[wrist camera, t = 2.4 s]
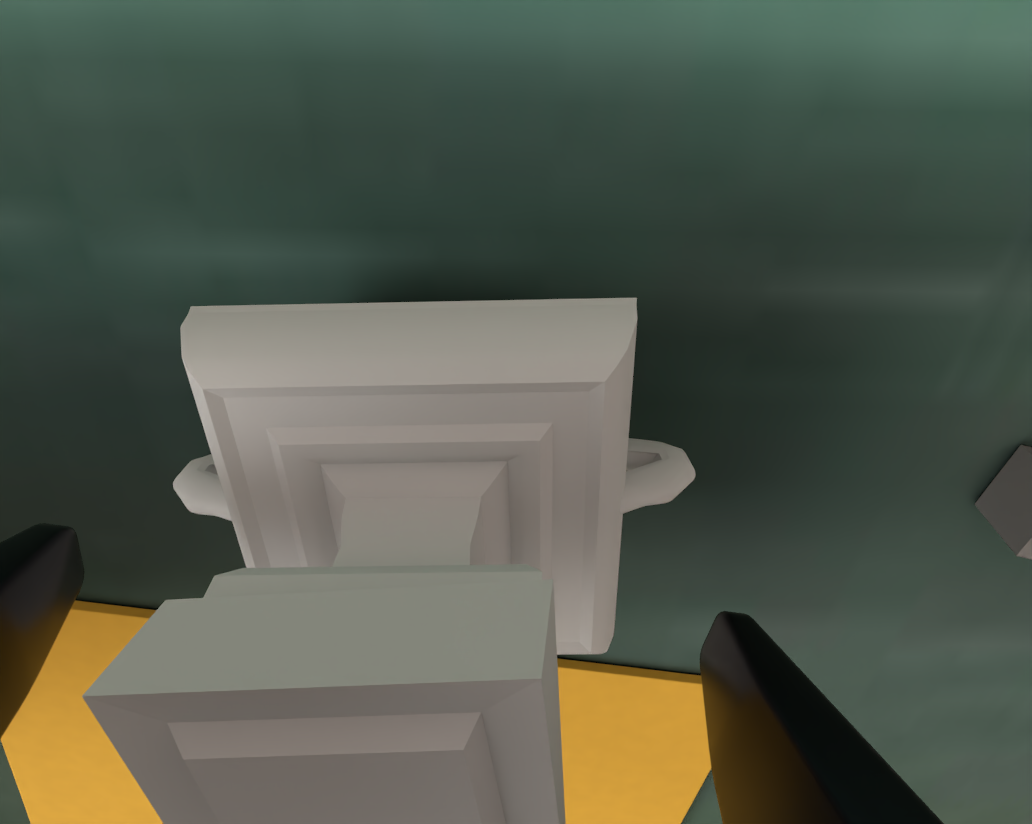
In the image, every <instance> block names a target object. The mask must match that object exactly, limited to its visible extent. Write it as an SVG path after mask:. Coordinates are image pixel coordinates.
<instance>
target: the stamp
mask: <svg viewBox="0 0 1032 824" xmlns="http://www.w3.org/2000/svg"><path fill="white" fill-rule="evenodd" d="M636 304H637V298H593V299H542V300H490V301H439V302H388V303H336V304H285V305H233V306H191V307H190V310H189V313H188V315H187V316H186V318H185V320H184V322H183V323H182V325H181V327H180V332H181V354H182V360H183V363H184V366H185V369H186V373H187V376H188V379H189V382H190V386H191V389H192V392H193V395H194V399H195V402H196V405H197V408H198V412H199V415H200V418H201V421H202V425H203V428H204V431H205V434H206V438H207V441H208V444H209V447H210V451H211V454H210V455H207V456H204V457H201V458H197V459H194V460H192V461H190V462H189V463H188V465H187V466H186V467H185V468H184V469H183V470H182V471H181V473H180V474H179V475H178V476H177V477H176V478H175V480H174V482H173V488H174V490H175V491H176V493H177V494H178V496H179V497H180V499H181V500H182V502H183V503H184V505H185V506H186V508H187V509H188V510H189V511H190V512H193V513H197V514H203V515H213V516H218V517H221V518H224V519H227V520H230V521H232V522H233V526H234V529H235V532H236V535H237V539H238V542H239V545H240V548H241V552H242V555H243V558H244V561H245V565H246V568H241V569H237V570H233V571H230V572H226V573H222V574H219V575H215V576H214V577H213V579H212V581H211V583H210V585H209V587H208V589H207V591H206V593H205V595H204V597H203V598H192V599H174V600H165V601H164V602H163V603H162V605H161V606H160V607H159V608H158V609H157V610H156V612H155V613H154V614H153V615H152V616H151V617H150V618H149V620H148V621H147V622H146V623H145V624H144V625H143V626H142V628H141V629H140V630H139V631H138V632H137V633H136V635H135V636H134V637H133V638H132V639H131V640H130V641H129V643H128V644H127V645H126V646H125V647H124V648H123V649H122V651H121V652H120V653H119V654H118V655H117V656H116V658H115V659H114V660H113V661H112V662H111V663H110V664H109V666H108V667H107V668H106V669H105V670H104V671H103V672H102V674H101V675H100V676H99V677H98V678H97V679H96V681H95V682H94V683H93V684H92V685H91V686H90V687H89V689H88V690H87V691H86V692H85V693H84V694H83V695H82V697H83V699H84V701H85V702H86V704H87V705H88V707H89V708H90V710H91V711H92V713H93V715H94V716H95V718H96V719H97V721H98V722H99V724H100V725H101V727H102V729H103V730H104V732H105V733H106V735H107V736H108V738H109V739H110V741H111V743H112V744H113V746H114V747H115V749H116V750H117V752H118V753H119V755H120V757H121V758H122V760H123V761H124V763H125V764H126V766H127V768H128V769H129V771H130V772H131V774H132V775H133V777H134V778H135V780H136V782H137V783H138V785H139V786H140V788H141V789H142V791H143V792H144V794H145V796H146V797H147V799H148V800H149V802H150V803H151V805H152V806H153V808H154V810H155V811H156V813H157V814H158V816H159V817H160V819H161V820H162V822H163V824H566V822H565V803H564V783H563V763H562V744H561V724H560V705H559V685H558V665H557V655H559V654H602V653H604V652H607V650H608V648H609V645H610V643H611V640H612V638H613V635H614V626H615V612H616V599H617V586H618V572H619V559H620V545H621V532H622V519H623V513H626V512H629V511H632V510H635V509H637V508H640V507H643V506H648V505H656V504H663V503H667V502H670V501H672V500H673V499H674V498H675V497H676V496H677V495H678V494H679V493H680V492H681V491H683V490H684V489H685V488H686V487H687V486H688V485H689V484H690V483H691V482H692V481H693V480H694V478H695V476H696V474H695V470H694V468H693V466H692V464H691V462H690V460H689V459H688V457H687V455H686V453H685V452H684V450H683V449H680V448H677V447H674V446H672V445H669V444H666V443H663V442H658V441H651V440H643V439H633V438H629V425H630V412H631V398H632V385H633V372H634V358H635V345H636V332H637V306H636ZM626 470H627V471H626Z"/></svg>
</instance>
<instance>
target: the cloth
mask: <svg viewBox="0 0 1032 824" xmlns="http://www.w3.org/2000/svg"><path fill="white" fill-rule="evenodd" d="M155 612H156V610H151V609H143V608H134V607H126V606H118V605H109V604H101V603H93V602H84V601H76V600H75V602H74V604H73V606H72V608H71V610H70V612H69V614H68V616H67V618H66V620H65V622H64V624H63V626H62V628H61V630H60V632H59V634H58V636H57V638H56V640H55V642H54V644H53V646H52V648H51V650H50V652H49V654H48V657H47V659H46V661H45V663H44V665H43V667H42V669H41V671H40V673H39V675H38V677H37V679H36V681H35V683H34V684H33V686H32V688H31V690H30V692H29V694H28V695H27V697H26V699H25V700H24V702H23V704H22V705H21V707H20V709H19V711H18V712H17V714H16V715H15V717H14V718H13V720H12V722H11V723H10V725H9V726H8V728H7V730H6V731H5V733H4V734H3V736H2V738H1V742H2V744H3V747H4V750H5V753H6V755H7V758H8V761H9V764H10V767H11V769H12V772H13V775H14V778H15V781H16V783H17V786H18V789H19V792H20V795H21V797H22V800H23V803H24V806H25V808H26V811H27V814H28V817H29V820H30V822H31V824H163V822H162V820H161V819H160V817H159V816H158V814H157V813H156V811H155V810H154V808H153V806H152V805H151V803H150V802H149V800H148V799H147V797H146V796H145V794H144V792H143V791H142V789H141V788H140V786H139V785H138V783H137V782H136V780H135V778H134V777H133V775H132V774H131V772H130V771H129V769H128V768H127V766H126V764H125V763H124V761H123V760H122V758H121V757H120V755H119V753H118V752H117V750H116V749H115V747H114V746H113V744H112V743H111V741H110V739H109V738H108V736H107V735H106V733H105V732H104V730H103V729H102V727H101V725H100V724H99V722H98V721H97V719H96V718H95V716H94V715H93V713H92V711H91V710H90V708H89V707H88V705H87V704H86V702H85V701H84V699H83V697H82V695H83V694H84V693H85V692H86V691H87V690H88V689H89V687H90V686H91V685H92V684H93V683H94V682H95V681H96V679H97V678H98V677H99V676H100V675H101V674H102V672H103V671H104V670H105V669H106V668H107V667H108V666H109V664H110V663H111V662H112V661H113V660H114V659H115V658H116V656H117V655H118V654H119V653H120V652H121V651H122V649H123V648H124V647H125V646H126V645H127V644H128V643H129V641H130V640H131V639H132V638H133V637H134V636H135V635H136V633H137V632H138V631H139V630H140V629H141V628H142V626H143V625H144V624H145V623H146V622H147V621H148V620H149V618H150V617H151V616H152V615H153V614H154V613H155ZM557 665H558V685H559V705H560V724H561V744H562V763H563V783H564V803H565V822H566V824H681V822H682V820H683V819H684V817H685V815H686V813H687V811H688V810H689V808H690V806H691V804H692V802H693V800H694V799H695V797H696V795H697V793H698V791H699V790H700V788H701V786H702V784H703V782H704V780H705V779H706V777H707V775H708V773H709V771H710V770H711V761H710V754H709V745H708V736H707V726H706V717H705V708H704V698H703V689H702V679H701V676H700V675H692V674H684V673H675V672H667V671H659V670H650V669H642V668H634V667H625V666H617V665H609V664H600V663H592V662H584V661H575V660H567V659H559V658H557Z"/></svg>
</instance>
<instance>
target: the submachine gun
mask: <svg viewBox="0 0 1032 824" xmlns="http://www.w3.org/2000/svg"><path fill="white" fill-rule="evenodd" d="M974 505H975V506H976V507H977V508H978V510H979V511H980V512H981V513H982V514H983V516H984V517H985V518H986V519H987V520H988V522H989V523H990V524H991V525H992V527H993V528H994V529H995V530H996V531H997V533H998V534H999V535H1000V536H1001V537H1002V539H1003V540H1004V541H1005V542H1006V543H1007V545H1008V546H1009V547H1010V548H1011V550H1012V551H1013V552H1014V553H1015V554H1016V556H1020V557H1024V558H1028V559H1032V447H1028V446H1024V445H1020V446H1019V448H1018V449H1017V450H1016V452H1015V453H1014V454H1013V455H1012V457H1011V458H1010V459H1009V461H1008V462H1007V463H1006V464H1005V466H1004V467H1003V468H1002V469H1001V471H1000V472H999V473H998V475H997V476H996V477H995V478H994V480H993V481H992V482H991V484H990V485H989V486H988V487H987V489H986V490H985V491H984V493H983V494H982V495H981V496H980V498H979V499H978V500H977V502H976V503H975V504H974Z"/></svg>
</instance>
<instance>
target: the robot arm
mask: <svg viewBox="0 0 1032 824" xmlns="http://www.w3.org/2000/svg"><path fill="white" fill-rule="evenodd" d="M83 580H84V567H83V562H82V557H81V552H80V547H79V543H78V538H77V534H76V532H75V531H74V529H73V528H71V527H69V526H61V525H53V524H46V523H43V524H37V525H35V526H32V527H30V528H28V529H26V530H24V531H22V532H20V533H18V534H16V535H14V536H12V537H10V538H8V539H6V540H5V541H3V542H1V543H0V739H1V738H2V736H3V734H4V733H5V731H6V730H7V728H8V726H9V725H10V723H11V722H12V720H13V718H14V717H15V715H16V714H17V712H18V711H19V709H20V707H21V705H22V704H23V702H24V700H25V699H26V697H27V695H28V694H29V692H30V690H31V688H32V686H33V684H34V683H35V681H36V679H37V677H38V675H39V673H40V671H41V669H42V667H43V665H44V663H45V661H46V659H47V657H48V654H49V652H50V650H51V648H52V646H53V644H54V642H55V640H56V638H57V636H58V634H59V632H60V630H61V628H62V626H63V624H64V622H65V620H66V618H67V616H68V614H69V612H70V610H71V608H72V606H73V604H74V602H75V599H76V597H77V595H78V593H79V591H80V589H81V587H82V584H83ZM700 670H701V679H702V689H703V698H704V708H705V717H706V726H707V736H708V745H709V754H710V761H711V768H712V774H713V779H714V784H715V789H716V794H717V798H718V803H719V807H720V812H721V817H722V821H723V824H944V823H943V822H942V821H941V820H940V819H939V818H938V817H937V816H936V815H935V814H934V813H933V812H932V811H931V810H930V808H929V807H928V806H927V805H926V804H925V803H924V802H923V801H922V800H921V799H920V798H919V797H918V796H917V794H916V793H915V792H914V791H913V790H912V789H911V788H910V787H909V786H908V785H907V784H906V783H905V782H904V781H903V779H902V778H901V777H900V776H899V775H898V774H897V773H896V772H895V771H894V770H893V769H892V768H891V767H890V765H889V764H888V763H887V762H886V761H885V760H884V759H883V758H882V757H881V756H880V755H879V754H878V753H877V752H876V750H875V749H874V748H873V747H872V746H871V745H870V744H869V743H868V742H867V741H866V740H865V739H864V738H863V736H862V735H861V734H860V733H859V732H858V731H857V730H856V729H855V728H854V727H853V726H852V725H851V724H850V723H849V721H848V720H847V719H846V718H845V717H844V716H843V715H842V714H841V713H840V712H839V711H838V710H837V709H836V707H835V706H834V705H833V704H832V703H831V702H830V701H829V700H828V699H827V698H826V697H825V696H824V695H823V694H822V692H821V691H820V690H819V689H818V688H817V687H816V686H815V685H814V684H813V683H812V682H811V681H810V680H809V678H808V677H807V676H806V675H805V674H804V673H803V672H802V671H801V670H800V669H799V668H798V667H797V666H796V665H795V663H794V662H793V661H792V660H791V659H790V658H789V657H788V656H787V655H786V654H785V653H784V652H783V651H782V649H781V648H780V647H779V646H778V645H777V644H776V643H775V642H774V641H773V640H772V639H771V638H770V637H769V636H768V634H767V633H766V632H765V631H764V630H763V629H762V628H761V627H760V626H759V625H758V624H757V623H756V622H755V620H754V619H753V618H751V617H750V616H749V615H747V614H743V613H735V612H728V611H723V612H720V613H719V614H718V615H717V616H716V618H715V620H714V622H713V624H712V627H711V629H710V631H709V633H708V635H707V637H706V639H705V642H704V644H703V646H702V649H701V653H700Z"/></svg>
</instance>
